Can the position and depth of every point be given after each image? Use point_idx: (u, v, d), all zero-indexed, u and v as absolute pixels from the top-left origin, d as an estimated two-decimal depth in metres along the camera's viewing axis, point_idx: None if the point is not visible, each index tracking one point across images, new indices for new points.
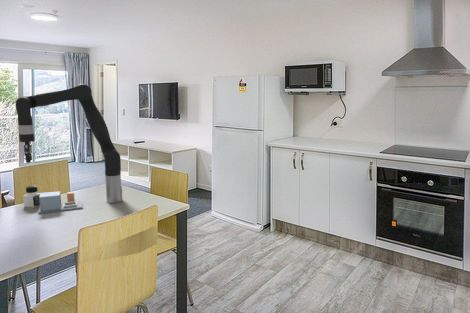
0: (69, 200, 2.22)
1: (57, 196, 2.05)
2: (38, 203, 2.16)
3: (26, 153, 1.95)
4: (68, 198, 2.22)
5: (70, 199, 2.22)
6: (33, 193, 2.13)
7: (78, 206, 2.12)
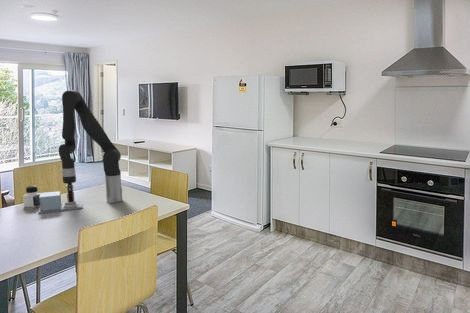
0: None
1: (57, 196, 2.05)
2: (38, 203, 2.16)
3: None
4: (68, 198, 2.22)
5: None
6: (33, 193, 2.13)
7: (78, 206, 2.12)
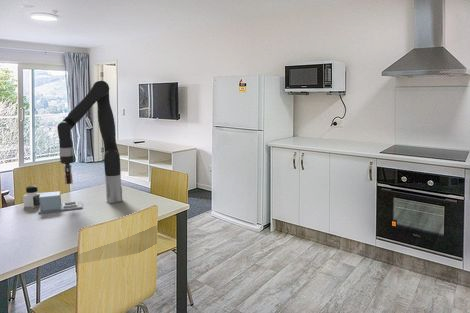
0: None
1: (57, 196, 2.05)
2: (38, 203, 2.16)
3: (67, 175, 2.10)
4: (66, 179, 2.12)
5: None
6: (33, 193, 2.13)
7: (78, 206, 2.12)
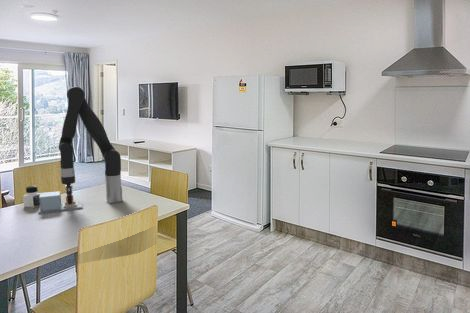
0: (68, 204, 2.11)
1: (57, 196, 2.05)
2: (38, 203, 2.16)
3: None
4: (67, 202, 2.11)
5: None
6: (33, 193, 2.13)
7: (78, 206, 2.12)
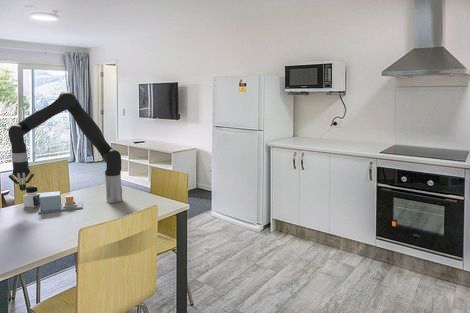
0: (68, 204, 2.11)
1: (57, 196, 2.05)
2: (38, 203, 2.16)
3: None
4: (67, 202, 2.11)
5: (69, 202, 2.11)
6: (33, 193, 2.13)
7: (78, 206, 2.12)
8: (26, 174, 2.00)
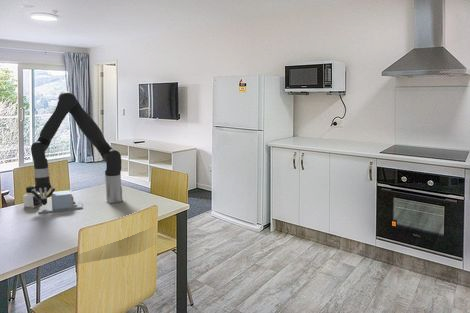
0: None
1: (69, 195, 2.08)
2: (38, 203, 2.16)
3: (38, 195, 2.06)
4: None
5: None
6: None
7: (78, 206, 2.12)
8: (47, 189, 2.06)
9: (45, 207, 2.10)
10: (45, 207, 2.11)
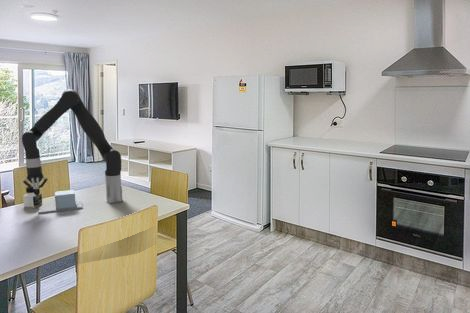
0: None
1: (72, 194, 2.09)
2: (38, 203, 2.16)
3: None
4: None
5: None
6: (33, 193, 2.13)
7: (78, 206, 2.12)
8: (40, 179, 2.05)
9: (45, 207, 2.10)
10: (45, 207, 2.11)
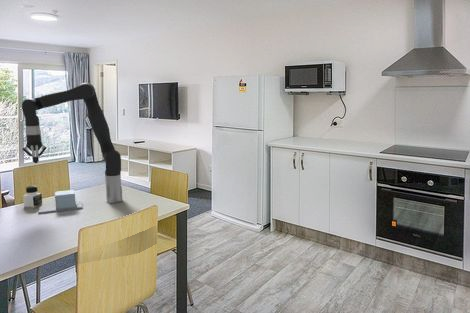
0: None
1: (72, 194, 2.09)
2: (38, 203, 2.16)
3: None
4: None
5: None
6: (33, 193, 2.13)
7: (78, 206, 2.12)
8: (39, 147, 2.08)
9: (45, 207, 2.10)
10: (45, 207, 2.11)
